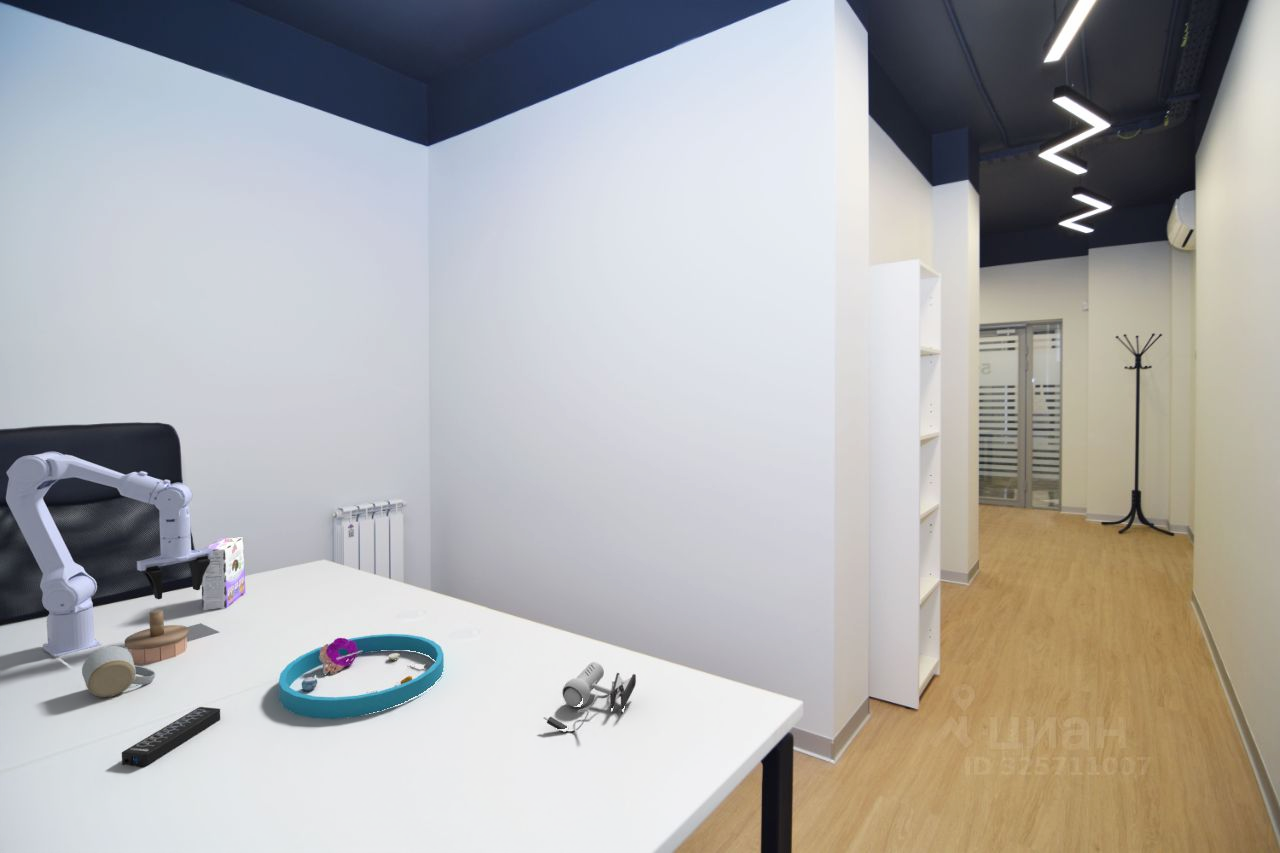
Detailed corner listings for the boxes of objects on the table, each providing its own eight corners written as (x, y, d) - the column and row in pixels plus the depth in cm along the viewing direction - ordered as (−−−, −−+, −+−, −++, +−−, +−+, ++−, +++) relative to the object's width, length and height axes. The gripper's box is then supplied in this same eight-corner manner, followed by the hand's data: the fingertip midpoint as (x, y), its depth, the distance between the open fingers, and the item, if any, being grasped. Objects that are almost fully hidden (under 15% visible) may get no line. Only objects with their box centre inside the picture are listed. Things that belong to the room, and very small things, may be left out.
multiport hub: (221, 721, 111) (221, 708, 111) (145, 769, 97) (144, 755, 97) (200, 718, 112) (199, 706, 112) (120, 767, 97) (119, 752, 97)
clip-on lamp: (591, 759, 105) (641, 691, 120) (590, 728, 103) (641, 663, 118) (534, 735, 110) (589, 673, 125) (532, 705, 108) (587, 646, 123)
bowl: (121, 657, 136) (120, 641, 135) (175, 642, 144) (174, 627, 144) (139, 669, 130) (139, 652, 130) (194, 652, 139) (194, 636, 138)
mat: (152, 638, 146) (152, 636, 146) (200, 624, 155) (200, 623, 154) (170, 648, 141) (170, 646, 141) (219, 633, 149) (219, 632, 149)
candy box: (222, 595, 177) (220, 537, 176) (246, 593, 178) (244, 536, 177) (201, 612, 163) (198, 549, 162) (226, 610, 165) (224, 548, 164)
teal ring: (381, 640, 147) (381, 616, 146) (474, 671, 131) (474, 643, 131) (247, 694, 121) (246, 664, 121) (342, 739, 106) (341, 705, 105)
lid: (118, 640, 136) (117, 613, 136) (178, 625, 145) (177, 600, 144) (133, 654, 129) (132, 625, 129) (195, 637, 138) (194, 610, 138)
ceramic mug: (87, 705, 115) (86, 664, 115) (82, 690, 121) (81, 651, 121) (159, 686, 123) (158, 648, 123) (151, 673, 129) (150, 636, 128)
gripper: (144, 545, 138) (147, 605, 138) (218, 532, 150) (220, 588, 151) (132, 540, 141) (134, 599, 142) (204, 528, 154) (206, 583, 154)
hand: (177, 593), depth 147 cm, fingers open, 7 cm apart
